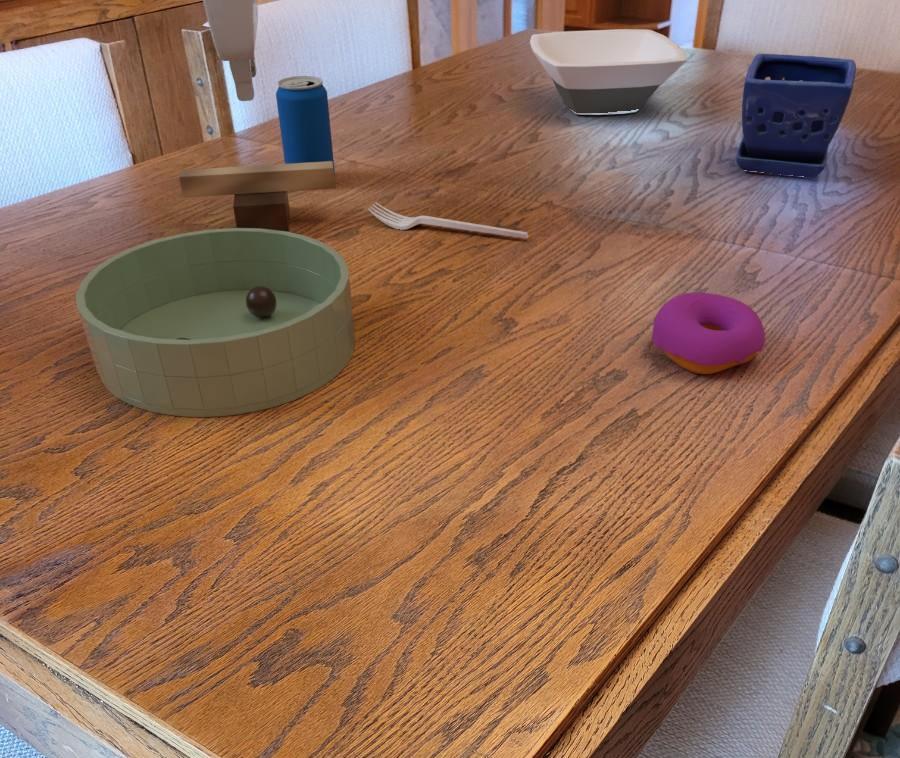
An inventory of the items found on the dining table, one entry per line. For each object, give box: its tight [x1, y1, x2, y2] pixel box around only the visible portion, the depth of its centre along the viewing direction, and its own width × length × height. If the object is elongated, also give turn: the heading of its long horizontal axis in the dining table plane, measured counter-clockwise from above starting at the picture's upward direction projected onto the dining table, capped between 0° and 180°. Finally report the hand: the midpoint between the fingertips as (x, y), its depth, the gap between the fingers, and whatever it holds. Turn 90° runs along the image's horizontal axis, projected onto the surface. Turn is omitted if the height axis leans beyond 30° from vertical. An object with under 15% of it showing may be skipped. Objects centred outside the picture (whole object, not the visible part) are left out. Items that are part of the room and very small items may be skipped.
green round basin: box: [75, 227, 356, 418], centre depth 85 cm, size 25×25×7 cm
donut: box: [651, 291, 766, 375], centre depth 84 cm, size 10×10×5 cm
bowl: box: [529, 28, 688, 113], centre depth 142 cm, size 22×23×8 cm
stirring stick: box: [178, 161, 336, 199], centre depth 107 cm, size 18×2×2 cm, turn 98°
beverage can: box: [275, 75, 336, 177], centre depth 117 cm, size 6×6×12 cm
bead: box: [246, 286, 276, 318], centre depth 90 cm, size 3×3×3 cm
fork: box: [367, 201, 529, 239], centre depth 108 cm, size 3×20×2 cm, turn 70°
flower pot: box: [735, 53, 857, 178], centre depth 119 cm, size 13×13×12 cm
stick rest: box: [232, 191, 291, 232], centre depth 110 cm, size 6×10×4 cm, turn 8°
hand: (247, 87), depth 100 cm, fingers open, 8 cm apart
